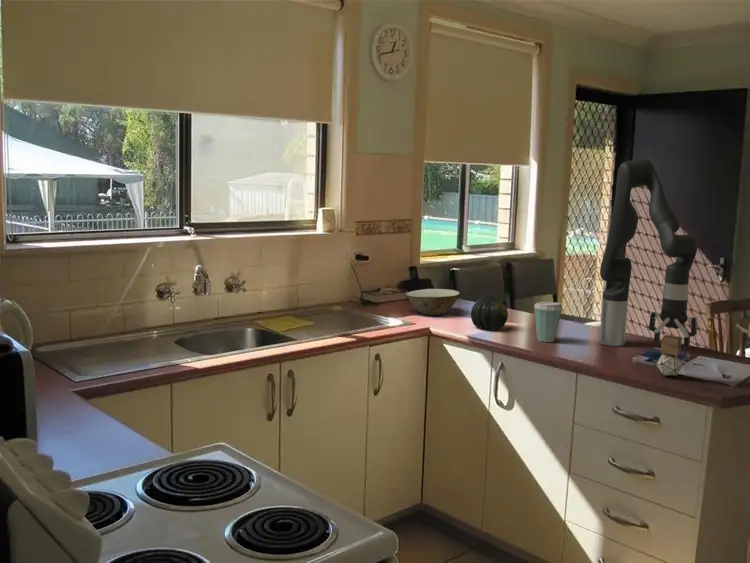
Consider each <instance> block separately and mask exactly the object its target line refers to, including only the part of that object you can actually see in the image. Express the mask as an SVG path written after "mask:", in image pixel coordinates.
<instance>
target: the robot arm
mask: <svg viewBox="0 0 750 563" xmlns="http://www.w3.org/2000/svg"><path fill="white" fill-rule="evenodd" d="M658 175H659V174H658V173H657V170H656V168H655V166H654V164H653V163H652V161H651V160H650V159H647V158H640V159H639V158H638V159H634V160H628V161H624V162H622V163H621V164H620V165H619V167H618V169H617V175H616V185H615V187H616V188H615V197H614V202H613V207H612V213H611V216H610V223H609V228H608V235H607V241H606V244H605V249H604V253H603V255H602V259H601V264H600V267H599V268H600V269H599V275H600V278H601V280H602V281H605V282H614V283H618V284H617V285H616V286H614V287H611V288H609V289H605V290H604V291H603V292H602V302H601V316H600V329H599V343H600V344H601V345H605V346H611V347H622V346H625V344H626V331H627V320H628V304H629V293H630V282H631V278H632V277H631V275H632V267H633V266H632V261H631V258H629V257H619V256H617V254H618V253H619V251H620V250H622V248H623V247H625V246H626V245H627V244H628V243H629V242H630V241H631V240H633V238H634V237H635V235H636V232H637V227H638V224H639V214H638V212H637V210H636V208H635V206H634V205H633V203H632V202H631V192H632V191H633V190H632V189H635V188H640V187H641V188H642V187H646V189H648V191H649V193H650V198H649V206H648V215H649V217H650V220H651V222H652V223H653V225H654V227H655V229H656V231H657V232H658V238H659V243H660V247H661V250H662V252H663V253H664V254H665V255H666V256H667V257H668V258H669V257H670V258H676V260H675V261H674V262H673V263H670V264H669V265H667V266H666V269H665V275H664V276H665V277H664V285H663V290H662V301H661V302H662V303H661V311H660V312H656V311H652V312H651V313H650V318H649V322H648V323H649V324H648V331H651V332H653V333H654V336H653V343H655V345H658V346H659V344H661V343H660V339H661V332H660V331H662V330H663V328H664V327H666V328H667V329H670V328H672V329H675V330H678V329H679V330H680V332H681V333H682V334H683V336H684V338H683V347H682V348H683V349H687V348H688V347H689V346H690V344H691V343H690V341H691V338H692V337H695V336H696V335H697V333H698V318H697V316H692V317H691V316H688V314H687V313H688V302H689V281H690V271H691V269H692V267H693V264H694V261H695V258H696V256H697V252H698V243H697V242H698V241H697V240H696V238H695V237H694V236H693V235H690V234H676V232H678V231H679V230H680V228H681V223H680V221H679V219H678V217H677V216H676V215H675V212H674V211H673V209H672V207H671V205H670V204H669V202H668V199H667V197H666V195H665V191H664V189H663V186H662V184H661V180H660V178H659V176H658ZM657 319H660V320H661V321H662V322H661V323H660V324H659V325H658V326H657V327H656V326H655V325H656V320H657ZM687 321H688V324H690V325H691V327H690V331H689V329H688V327H687V325H686V324H685V323H686V322H687Z"/></svg>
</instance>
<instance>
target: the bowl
mask: <svg viewBox="0 0 750 563" xmlns="http://www.w3.org/2000/svg"><path fill="white" fill-rule="evenodd" d="M460 294H461V293H460V291H457V290H454V289H449V288H448V289H447V288H446V289H444V288H425V289H424V288H423V289H418V290H412V291H409V292H407V293H406V294H405V295H406V297H407V299H408V300H409V302H410V303H411V304H412V305H413V307H414V308H415V309H416V310H417V311H418V312H419V313H421V314H422V313H423V314H422V315H427V316H440V315H441V316H442V315H445V314H447V312H449V310H450V309H452V307H453V306H454V305H455V304H456V301H457V300H458V298H459V296H460Z"/></svg>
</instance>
